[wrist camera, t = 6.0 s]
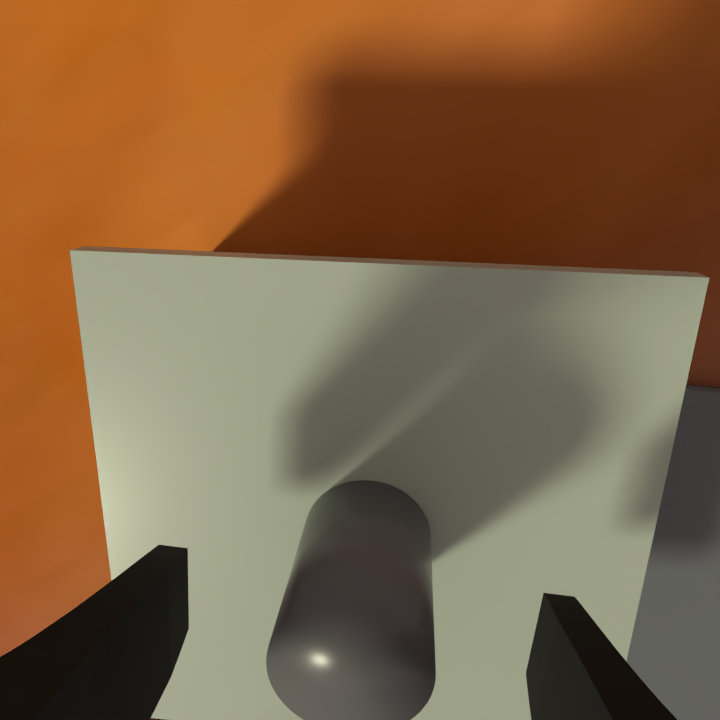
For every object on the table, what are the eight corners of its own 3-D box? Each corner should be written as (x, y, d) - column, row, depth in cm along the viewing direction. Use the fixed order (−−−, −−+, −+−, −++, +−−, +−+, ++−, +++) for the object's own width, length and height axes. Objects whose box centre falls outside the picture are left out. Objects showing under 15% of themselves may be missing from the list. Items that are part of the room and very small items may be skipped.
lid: (597, 742, 17) (661, 949, 12) (138, 697, 18) (47, 875, 13) (696, 271, 12) (844, 336, 8) (84, 246, 13) (-75, 290, 9)
